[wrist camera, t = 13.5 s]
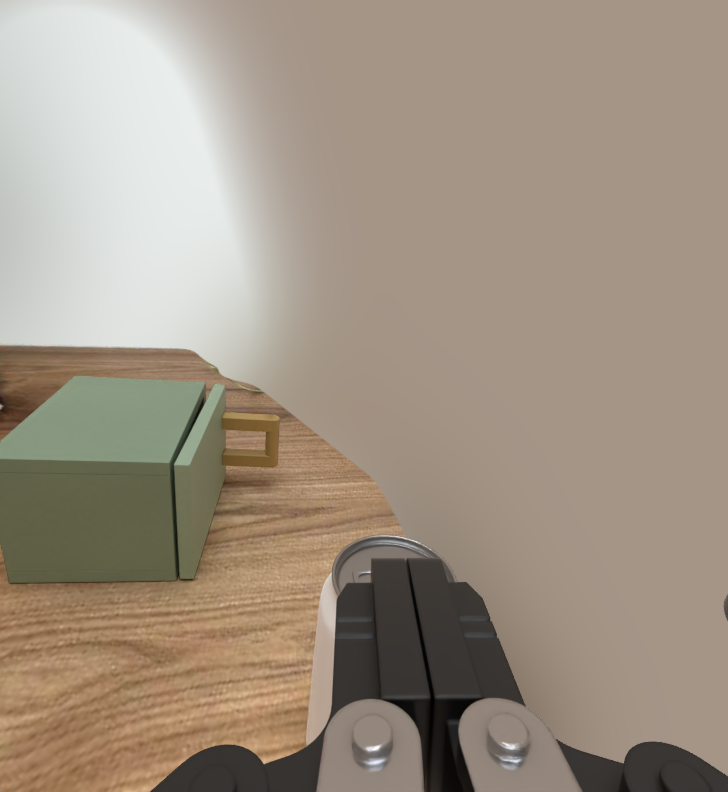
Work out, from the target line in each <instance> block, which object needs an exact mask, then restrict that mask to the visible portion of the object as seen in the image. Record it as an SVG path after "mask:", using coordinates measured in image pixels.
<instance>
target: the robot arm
mask: <svg viewBox="0 0 728 792" xmlns="http://www.w3.org/2000/svg"><path fill="white" fill-rule="evenodd" d="M150 792H728V776H726V775H725V774H723V773H722V772H720V771H719V770H717V769H716V768H714V767H713V766H711V765H710V764H708V763H707V762H705V761H704V760H702V759H701V758H699V757H697V756H696V755H694V754H692V753H690V752H688V751H686V750H684V749H682V748H679V747H677V746H674V745H670V744H666V743H662V742H644V743H640V744H638V745H636V746H634V747H632V748H631V749H630V750H629V752H628V753H627V755H626V757H625V761H624V764H623V763H619V762H616V761H613V760H609V759H606V758H603V757H599V756H596V755H592V754H589V753H586V752H582V751H580V750H576V749H574V748H572V747H570V746H567V745H565V744H563V743H562V742H560V741H558V740H557V739H555V737H554V735H553V733H552V732H551V730H550V729H549V727H548V726H547V725H546V723H545V722H544V721H543V720H542V719H541V718H540V717H538V715H537V714H535V713H534V712H533V711H531V710H530V709H528V708H527V707H526V706H525V704H524V702H523V699H522V696H521V694H520V691H519V689H518V686H517V684H516V681H515V679H514V676H513V674H512V671H511V669H510V667H509V664H508V661H507V659H506V656H505V654H504V651H503V649H502V646H501V644H500V641H499V639H498V638H497V634H496V631H495V629H494V626H493V624H492V622H491V621H490V616H489V614H488V611H487V608H486V606H485V604H484V601H483V599H482V597H480V596H479V595H478V593H477V592H476V591H474V589H473V588H472V587H471V586H470V585H469V584H468V583H466V582H448V580H447V576H446V573H445V570H444V567H443V564H442V561H441V559H440V558H407V559H406V562H405V558H371V581H370V583H347V584H346V585H345V587H344V588H343V590H342V592H341V593H340V595H339V596H338V598H337V601H336V623H335V644H334V666H333V687H332V706H331V713H330V716H329V719H328V722H327V724H326V726H325V728H324V729H323V730H322V732H321V733H320V735H319V736H318V737H317V738H316V739H315V740H314V741H313V742H312V743H310V744H309V745H308V746H307V747H305V748H304V749H302V750H300V751H299V752H296V753H294V754H292V755H290V756H287V757H284V758H281V759H278V760H275V761H273V762H270V763H267V764H263V763H262V761H261V760H260V759H259V757H258V756H257V755H256V754H254V753H253V752H252V751H250V750H248V749H246V748H244V747H241V746H236V745H219V746H214V747H210V748H207V749H205V750H202V751H200V752H198V753H196V754H195V755H193V756H191V757H190V758H188V759H187V760H186V761H185V762H183V763H182V764H181V765H180V766H179V767H177V768H176V769H175V770H174V771H173V772H172V773H171V774H170V775H168V776H167V777H166V778H165V779H164V780H163V781H162V782H161V783H159V784H158V785H157V786H156V787H155V788H154V789H153V790H152V791H150Z"/></svg>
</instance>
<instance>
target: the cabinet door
mask: <svg viewBox="0 0 728 792" xmlns="http://www.w3.org/2000/svg"><path fill="white" fill-rule="evenodd" d="M279 423H280V418H279V416H276V415H264V414H246V413H228V412H226V385H218V384H214V386H213V388H212V390H211V392H210V394H209V396H208V398H207V400H206V402H205V404H204V406H203V408H202V410H201V412H200V414H199V416H198V418H197V420H196V422H195V424H194V426H193V428H192V430H191V432H190V434H189V436H188V438H187V440H186V442H185V444H184V446H183V448H182V450H181V452H180V454H179V456H178V458H177V460H176V462H175V464H174V476H175V495H176V514H177V533H178V553H179V572H180V579H194V577H195V573H196V570H197V567H198V564H199V560H200V557H201V554H202V551H203V547H204V544H205V541H206V538H207V534H208V531H209V528H210V525H211V521H212V518H213V515H214V512H215V508H216V505H217V502H218V499H219V495H220V492H221V489H222V486H223V482H224V479H225V476H226V466H249V467H276V466H277V465H278V445H279ZM226 430H244V431H263V432H266V448H265V450H249V449H227V448H226Z"/></svg>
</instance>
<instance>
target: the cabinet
mask: <svg viewBox="0 0 728 792" xmlns="http://www.w3.org/2000/svg"><path fill="white" fill-rule="evenodd" d="M205 402H206V383H205V382H188V381H168V380H148V379H128V378H108V377H88V376H74V377H73V378H72V379H71V380H70V381H69V382H67V383H66V384H65V385H64V386H63V387H62V388H61V389H59V390H58V391H57V392H56V393H55V394H54V395H53V396H51V397H50V398H49V399H48V400H47V401H46V402H44V403H43V404H42V405H41V406H40V407H39V408H38V409H36V410H35V411H34V412H33V413H32V414H31V415H30V416H28V417H27V418H26V419H25V420H24V421H23V422H21V423H20V424H19V425H18V426H17V427H16V428H15V429H13V430H12V431H11V432H10V433H9V434H8V435H7V436H5V437H4V438H3V439H2V440H1V441H0V545H1V549H2V553H3V557H4V562H5V566H6V570H7V575H8V579H9V583H53V582H120V581H176V579H177V576H178V572H179V553H178V533H177V514H176V495H175V476H174V464H175V462H176V460H177V458H178V456H179V454H180V452H181V450H182V448H183V446H184V444H185V442H186V440H187V438H188V436H189V434H190V432H191V430H192V428H193V426H194V424H195V422H196V420H197V418H198V416H199V414H200V412H201V410H202V408H203V406H204V404H205Z"/></svg>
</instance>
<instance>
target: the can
mask: <svg viewBox="0 0 728 792" xmlns="http://www.w3.org/2000/svg"><path fill="white" fill-rule="evenodd" d="M371 558H405V562H406V559H407V558H440V559H441V561H442V564H443V567H444V570H445V573H446V576H447V580H448V582H457V579H456V576H455V574H454V572H453V570H452V568H451V567H450V565H449V564H448V563H447V562H446V560H444V558H443V557H441V556H440V555H439V554H438V553H437V552H436V551H434V550H433V549H431V548H430V547H428V546H426V545H424V544H422V543H420V542H418V541H415V540H412V539H410V538H406V537H402V536H396V535H373V536H368V537H364V538H361V539H358V540H356V541H354V542H352V543H350V544H349V545H347V546H346V547H345V548H344V549H343V550H342V551H341V552H340V553H339V554H338V556H337V557H336V559H335V561H334V564H333V568H332V572H331V573H330V575H329V576H328V578H327V579H326V581H325V583H324V586H323V588H322V592H321V596H320V603H319V610H318V619H317V629H316V638H315V648H314V658H313V669H312V679H311V689H310V700H309V710H308V721H307V734H306V747H307V746H308V745H309V744H310V743H312V742H313V741H314V740H315V739H316V738H317V737H318V736H319V735H320V733H321V732H322V730H323V729H324V728H325V726H326V724H327V722H328V719H329V716H330V713H331V706H332V687H333V666H334V644H335V623H336V601H337V598H338V596H339V595H340V593H341V592H342V590H343V588H344V587H345V585H346V584H347V583H370V581H371Z"/></svg>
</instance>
